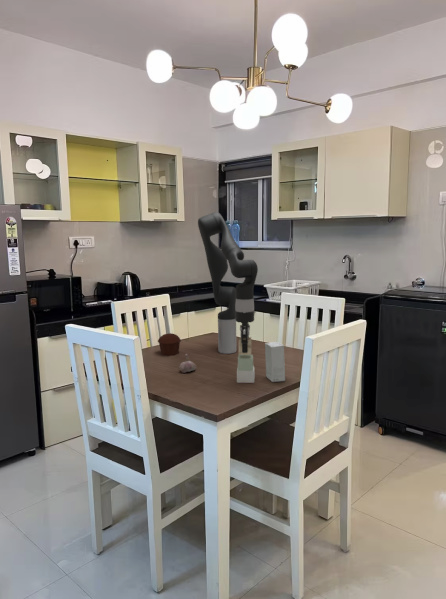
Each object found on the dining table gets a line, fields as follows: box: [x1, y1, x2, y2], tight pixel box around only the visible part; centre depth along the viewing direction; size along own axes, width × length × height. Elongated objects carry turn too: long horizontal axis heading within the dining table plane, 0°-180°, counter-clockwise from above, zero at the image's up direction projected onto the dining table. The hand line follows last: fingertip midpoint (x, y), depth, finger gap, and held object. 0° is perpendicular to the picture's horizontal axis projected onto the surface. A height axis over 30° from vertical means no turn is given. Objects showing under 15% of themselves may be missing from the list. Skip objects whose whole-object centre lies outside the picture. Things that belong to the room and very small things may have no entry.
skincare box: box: [264, 341, 286, 383], centre depth 186 cm, size 8×6×15 cm
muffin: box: [157, 332, 182, 357], centre depth 229 cm, size 12×11×10 cm
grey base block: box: [236, 365, 256, 384], centre depth 186 cm, size 7×7×5 cm
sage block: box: [237, 354, 254, 371], centre depth 185 cm, size 6×6×5 cm
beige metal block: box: [238, 336, 252, 355], centre depth 184 cm, size 5×5×6 cm
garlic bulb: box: [178, 353, 197, 374], centre depth 199 cm, size 8×7×8 cm
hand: (245, 350), depth 185 cm, fingers closed on beige metal block, 5 cm apart
